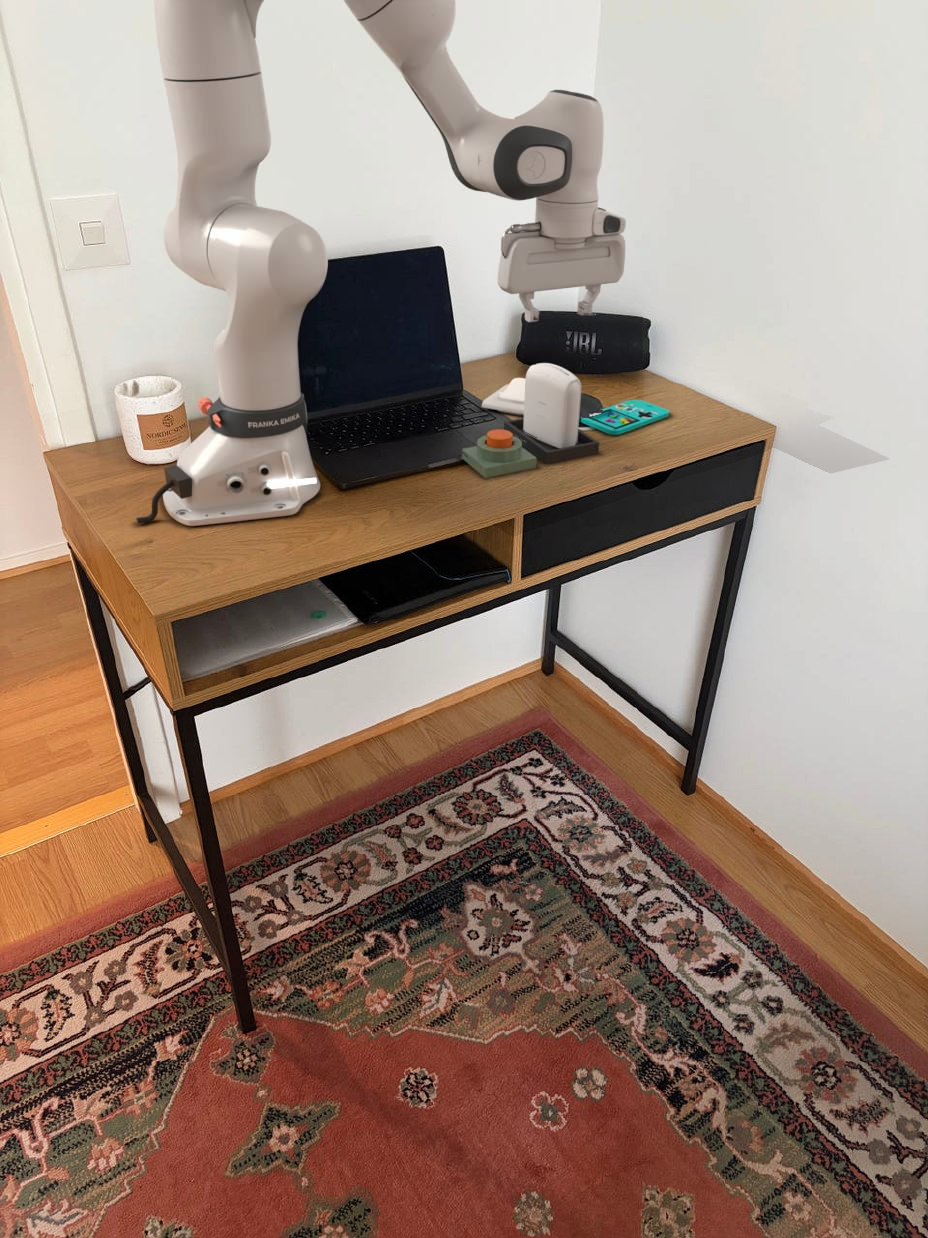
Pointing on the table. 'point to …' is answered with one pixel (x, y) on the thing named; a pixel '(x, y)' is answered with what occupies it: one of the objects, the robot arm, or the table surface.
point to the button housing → (498, 458)
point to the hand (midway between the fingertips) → (558, 317)
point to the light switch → (508, 398)
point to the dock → (549, 452)
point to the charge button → (499, 439)
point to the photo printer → (552, 405)
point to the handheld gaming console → (626, 417)
